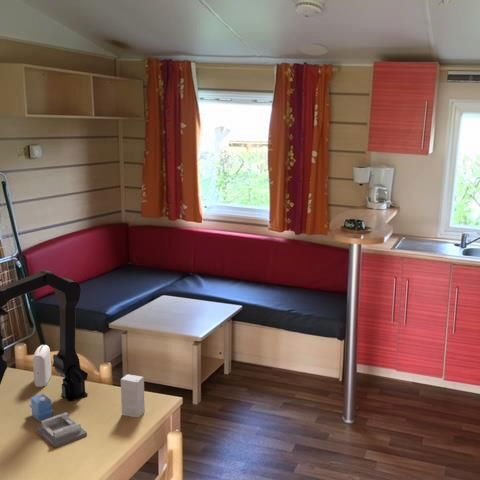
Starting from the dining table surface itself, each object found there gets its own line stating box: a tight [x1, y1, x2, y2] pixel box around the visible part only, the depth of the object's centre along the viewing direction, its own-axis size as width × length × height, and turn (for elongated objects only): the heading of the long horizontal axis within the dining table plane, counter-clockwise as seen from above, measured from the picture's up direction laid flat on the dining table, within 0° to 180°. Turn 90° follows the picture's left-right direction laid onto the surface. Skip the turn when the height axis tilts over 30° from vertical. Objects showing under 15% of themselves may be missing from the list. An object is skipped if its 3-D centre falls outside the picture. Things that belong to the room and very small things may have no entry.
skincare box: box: [120, 373, 146, 419], centre depth 184 cm, size 6×4×12 cm
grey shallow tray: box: [35, 412, 88, 449], centre depth 173 cm, size 10×12×4 cm
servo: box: [29, 393, 54, 423], centre depth 182 cm, size 4×8×7 cm, turn 43°
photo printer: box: [32, 344, 52, 388], centre depth 205 cm, size 10×4×12 cm, turn 5°
